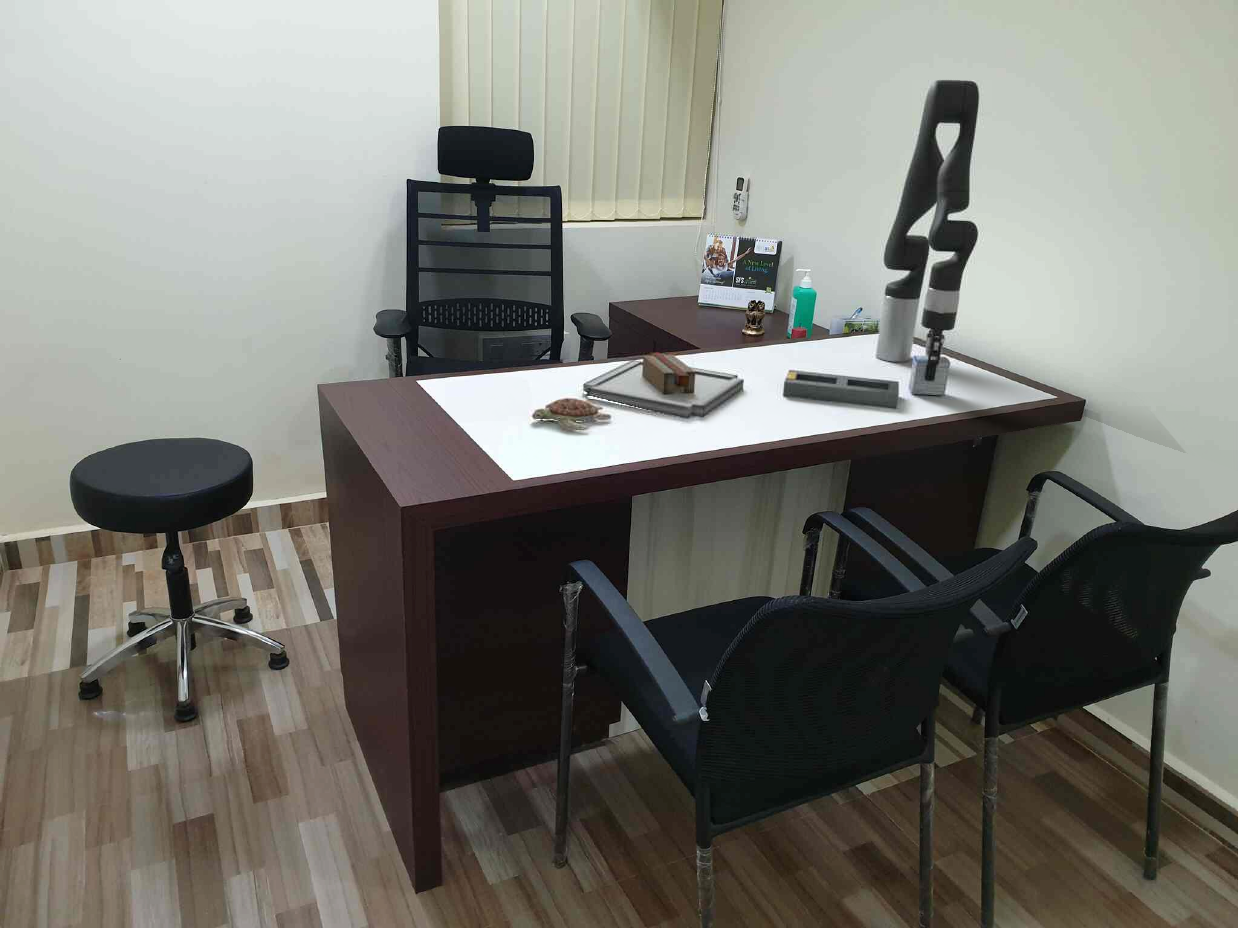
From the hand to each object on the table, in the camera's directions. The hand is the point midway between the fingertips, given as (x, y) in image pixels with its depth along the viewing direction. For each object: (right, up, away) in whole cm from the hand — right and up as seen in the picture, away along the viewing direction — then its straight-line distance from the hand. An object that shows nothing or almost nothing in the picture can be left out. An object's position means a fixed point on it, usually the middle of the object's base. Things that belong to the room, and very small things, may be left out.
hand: (928, 377), depth 220 cm
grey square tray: (-64, -5, -4) cm, 65 cm away
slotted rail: (-22, -5, -3) cm, 23 cm away
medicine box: (0, -4, +2) cm, 4 cm away
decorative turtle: (-85, -12, -25) cm, 90 cm away
